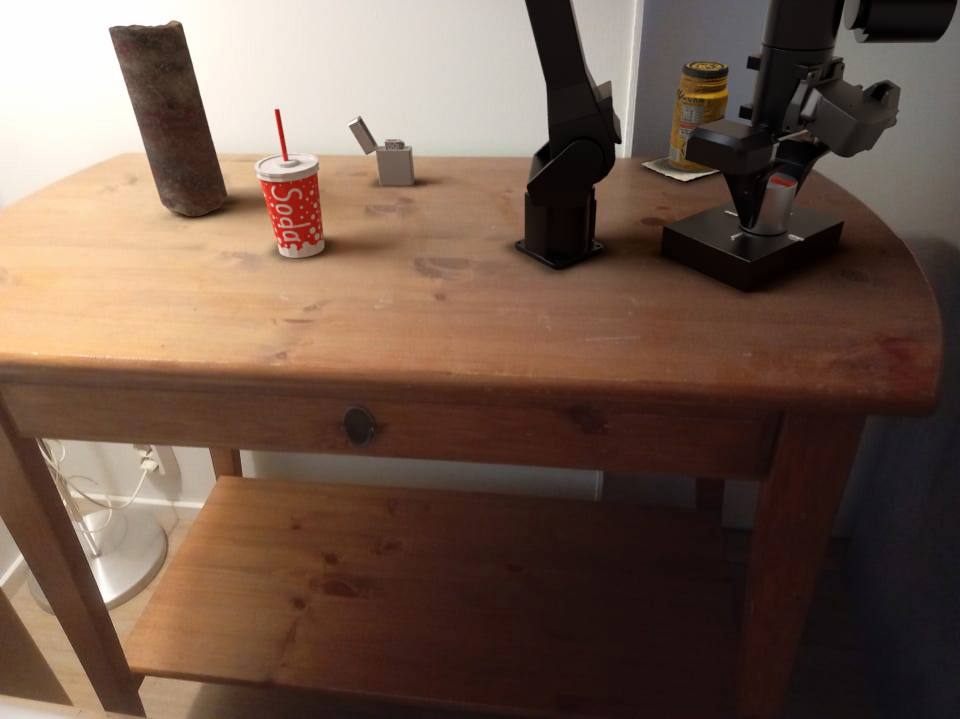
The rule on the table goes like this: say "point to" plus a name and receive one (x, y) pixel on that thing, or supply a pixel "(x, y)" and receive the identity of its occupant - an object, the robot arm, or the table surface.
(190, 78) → the rough stone core
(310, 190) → the beverage cup
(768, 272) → the hob panel
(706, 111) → the condiment
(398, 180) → the lighter
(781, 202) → the hob knob
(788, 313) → the table surface
